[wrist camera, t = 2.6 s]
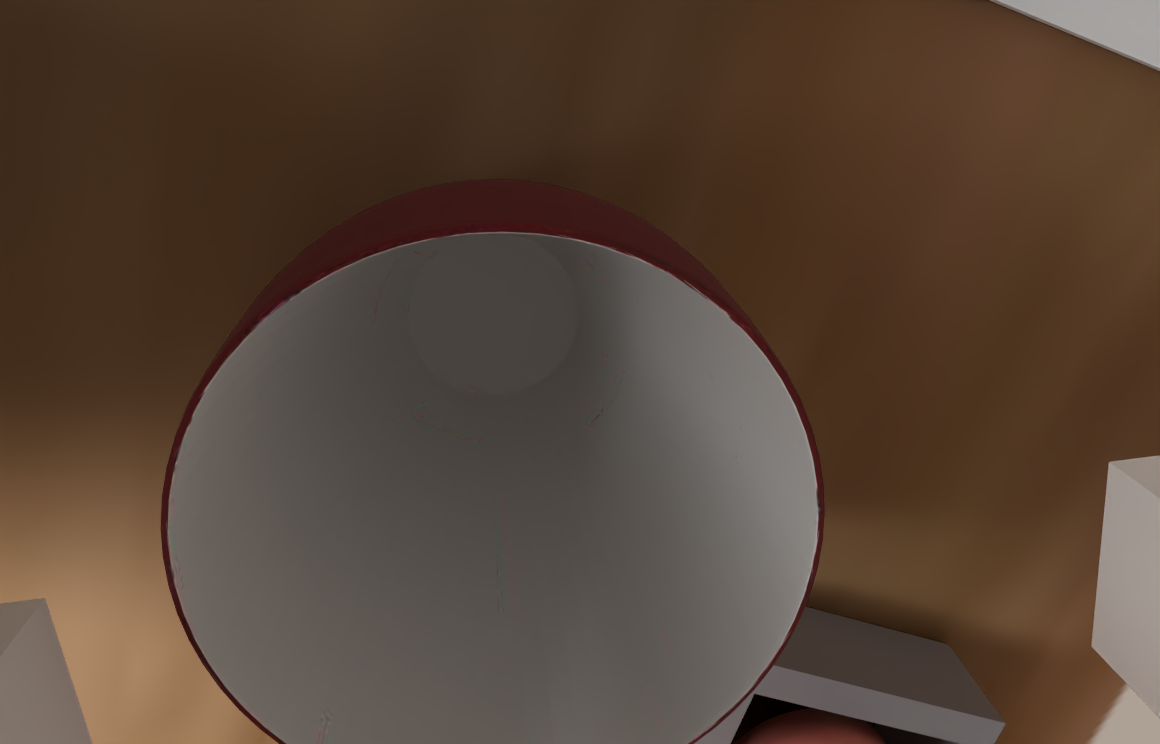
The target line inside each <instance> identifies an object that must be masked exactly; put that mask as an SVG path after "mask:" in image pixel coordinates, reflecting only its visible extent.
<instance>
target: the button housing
mask: <svg viewBox="0 0 1160 744" xmlns="http://www.w3.org/2000/svg"><path fill="white" fill-rule="evenodd" d="M754 694H758V695H762V696H766V697H770V698H774V699H778V700H782V701H787V702H791V703H795V704H799V705H803V706H807V707H811V708H815V709H820V710H824V711H828V712H832V713H836V714H840V715H844V716H848V717H853V718H857V719H861V720H865V721H869V722H873V723H875V725H874V727H873V728H874V729H875V730H876V731H878V733H879V734H880V735H881V736H882V738H883V739H884V741H885V742H886V744H994V743H995V742H996V740H997V738H998V736H999V735H1000V733H1001V731H1002V730H1003V728H1004V726H1005V724H1006V723H1005V721H1004V720H1003V719H1002V717H1001V716H1000V714H999V713H998V712H997V710H996V709H995V708H994V706H993V705H992V703H991V702H990V701H989V699H988V698H987V697H986V695H985V694H984V692H983V691H982V690H981V688H980V687H979V686H978V684H977V683H976V682H975V680H974V679H973V677H972V676H971V675H970V673H969V672H968V671H967V669H966V668H965V666H964V665H963V664H962V662H961V661H960V660H959V658H958V657H957V655H956V654H955V653H954V651H953V650H952V649H951V647H950V646H949V645H948V644H945V643H941V642H937V641H933V640H930V639H926V638H922V637H918V636H915V635H911V634H907V633H903V632H899V631H896V630H892V629H888V628H884V627H881V626H877V625H873V624H869V623H865V622H862V621H858V620H854V619H850V618H847V617H843V616H839V615H835V614H831V613H828V612H824V611H820V610H816V609H813V608H809V607H805V608H804V611H803V613H802V616H801V618H800V620H799V622H798V624H797V626H796V628H795V630H794V632H793V634H792V636H791V638H790V640H789V641H788V643H787V645H786V647H785V648H784V650H783V651H782V653H781V654H780V656H779V657H778V659H777V661H776V662H775V664H774V665H773V667H772V668H771V669H770V671H769V672H768V673H767V674H766V676H765V677H764V678H763V680H762V681H761V682H760V683H759V685H758V686H757V687H756V688H755V690H754V691H753V692H752V693H751V694H750V695H749V696H748V697H747V698H746V699H745V700H744V701H743V702H742V703H741V704H740V705H739V707H738V708H737V709H736V710H735V711H733V712H732V713H731V714H730V715H729V716H728V717H727V718H726V719H724V720H723V721H722V722H721V723H720V724H719V725H718V726H717V727H715V728H714V729H713V730H712V731H710V732H709V733H707V734H706V735H705V736H703V737H702V738H701V739H699V740H698V741H697V742H695V743H694V744H730V743H731V741H732V739H733V737H734V735H735V733H736V731H737V729H738V727H739V725H740V723H741V720H742V718H743V716H744V714H745V712H746V710H747V708H748V706H749V704H750V702H751V700H752V698H753V696H754Z"/></svg>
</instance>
